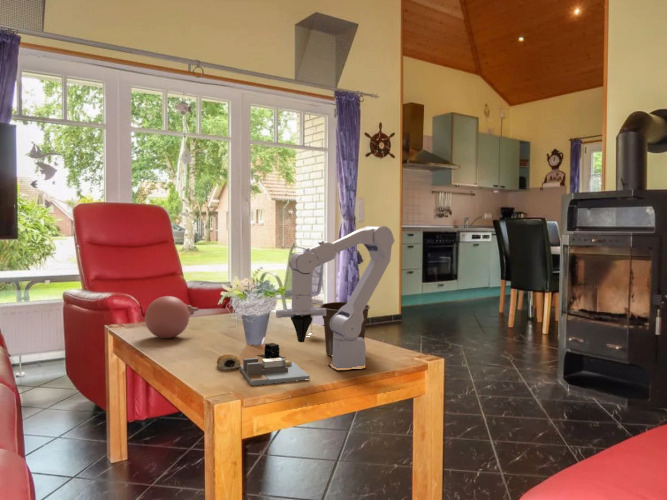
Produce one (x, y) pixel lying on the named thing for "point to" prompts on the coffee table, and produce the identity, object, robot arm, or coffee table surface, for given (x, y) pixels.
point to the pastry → (228, 362)
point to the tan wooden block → (273, 363)
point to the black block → (271, 351)
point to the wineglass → (314, 305)
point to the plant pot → (330, 312)
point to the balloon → (168, 316)
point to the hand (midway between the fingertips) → (301, 341)
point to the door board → (271, 372)
